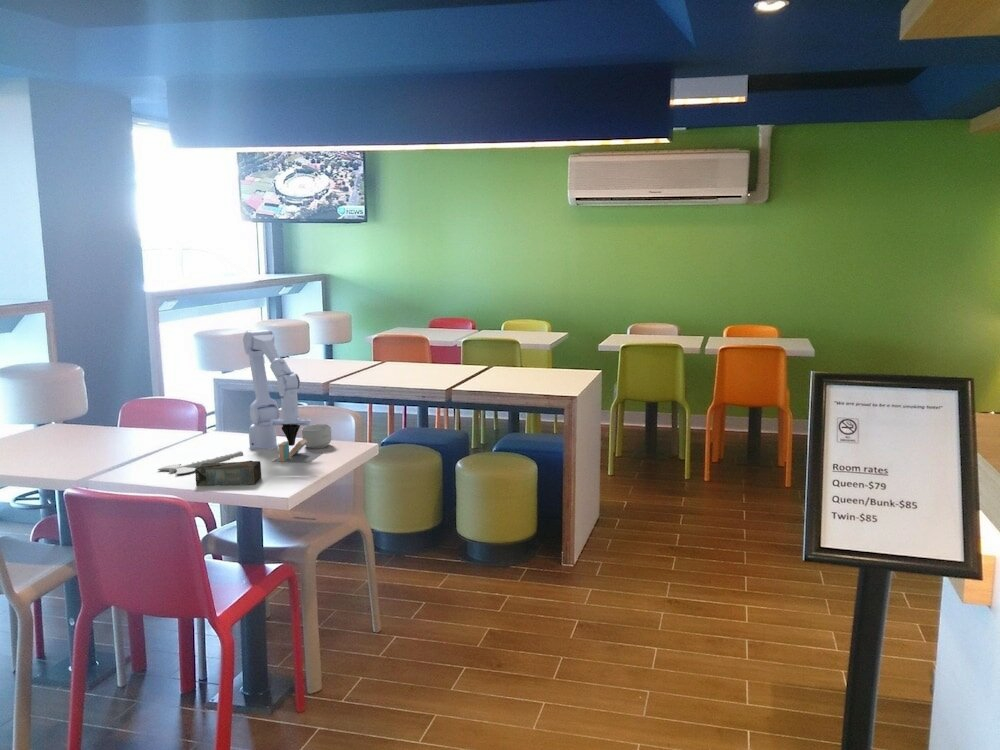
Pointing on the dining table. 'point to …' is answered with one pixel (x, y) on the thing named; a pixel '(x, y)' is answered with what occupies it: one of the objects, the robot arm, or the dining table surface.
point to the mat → (301, 458)
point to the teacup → (317, 435)
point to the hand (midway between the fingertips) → (291, 445)
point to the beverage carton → (228, 473)
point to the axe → (197, 464)
